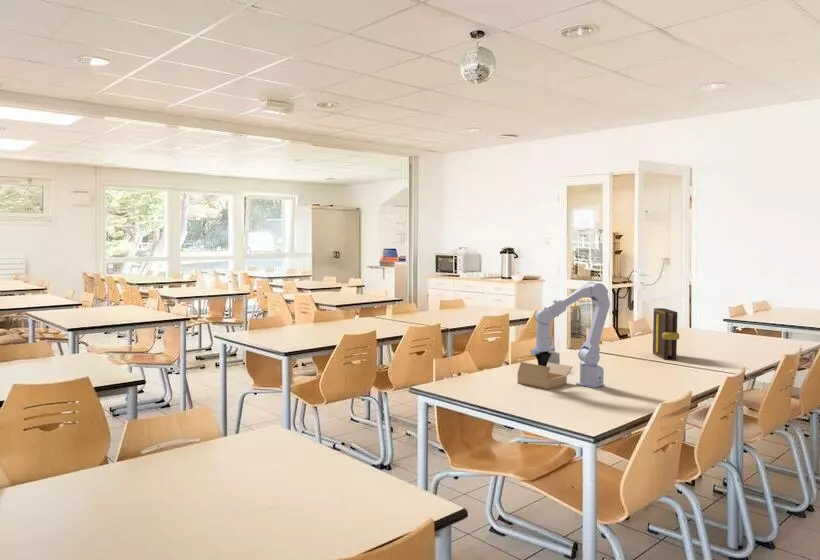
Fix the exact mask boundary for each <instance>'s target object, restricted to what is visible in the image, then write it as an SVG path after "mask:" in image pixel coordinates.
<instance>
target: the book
mask: <svg viewBox="0 0 820 560" xmlns="http://www.w3.org/2000/svg"><path fill="white" fill-rule="evenodd" d="M652 324H653V327H652V328H653V329H652V331H653V333H652V354H653V355H654V356H656V357H658V358H660V359H662V360H664V361H666V360H669V359H670V360H673V361H677V347H678V346H677V343H678V341H677V340H679V339H680V334H679V332H678V311H674V310H671V309H668V308H661V307H660V308H659V307H655V308H653V323H652Z"/></svg>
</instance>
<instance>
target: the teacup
mask: <svg viewBox="0 0 820 560" xmlns="http://www.w3.org/2000/svg"><path fill="white" fill-rule="evenodd" d="M548 353H551V356H550V358H549V360H548V362H549V363H555V364H560V362H561V361H560V360H561V359H560V358H561V357H560V352H558V351H550V352H548ZM536 360H537V359H536ZM536 362H537V365H539V364H538V360H537V361H536Z"/></svg>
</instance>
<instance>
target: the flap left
mask: <svg viewBox="0 0 820 560" xmlns="http://www.w3.org/2000/svg"><path fill="white" fill-rule="evenodd" d="M549 371H550V367H546V366H541V365H538V364H536V363H535V364H534V363H528V362H524V361H523V362H522V361H521V362H520V364H519V367H518V370H517V373H516V374H517V375H518V374H519V375H524V376H529V377H534V378H539V379H544V380H547V378H548V374H549Z"/></svg>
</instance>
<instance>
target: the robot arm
mask: <svg viewBox="0 0 820 560" xmlns="http://www.w3.org/2000/svg"><path fill="white" fill-rule="evenodd" d="M583 298H590V299H591V300H592V301H593V302H594V304H595V309H594V313H593V317H592V318H591V319H592V320H591V322H590V327H589V328H588V329H589V331H588V333H587V338H586V340H585V341H584V342H583V344H582V346H581V348H580V349H579V350H578V354H577V356H578V359H579V360H580V362H579V381H577V382H575V385H578V386H584V387H587V388H588V387H589V388H593V389H594V388H600V387H602V386H605V383H604V373H605V372H604V368H603V366H601V365H599V364H598V363H599V362H600V359H601V356H600V351H601V348H600V341H601V337H602V333H603V330H604V326H605V324H606V319H607V317H608V316H607V315H608V313H609V309H610V306H611V304H610V298H609V290H608V288H607V287H606V286H605V285H604V284H603V283H600V282H595V281H590V282H587V283H586V284H584V285H582V286H581V287H579V288H577V289H576V290H575V291H573V292H572V293H570V294H569V295H568V296H566V297H564V298H563V299H554V300H552V303H550V304H549V305H547V306H543V309H538V310H537V311H536V312H535V315H534V320H535V321H536V330H535V331H536V333H535V339H536V340H535V341H536V342H535V343H536V344H535V346H534V348H533V349H530V355H532V356H533V355H534V356H535V358H536V360H538V362H537V365H538V364H539V365H541V366H547V362H548V360H549V358H550V356H551V353H548V352H550V351H553V352H556V346H555V345H554V346H553V345H551V322H553V319H555V318H557V317H559V316H560V315H561V314H563V313H565V312H566V310H567V307H568V306H570V305H572V304H574V303H576V302H577V301H579V300H581V299H583Z"/></svg>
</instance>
